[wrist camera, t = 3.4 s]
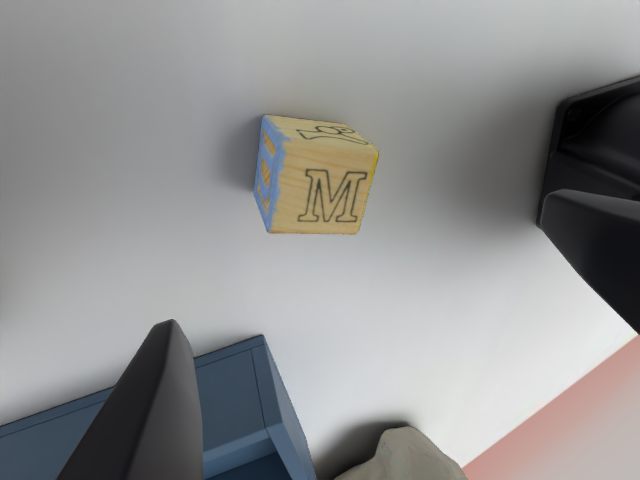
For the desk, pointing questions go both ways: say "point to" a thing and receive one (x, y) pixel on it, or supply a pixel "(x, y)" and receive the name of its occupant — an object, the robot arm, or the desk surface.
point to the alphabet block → (312, 176)
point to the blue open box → (217, 424)
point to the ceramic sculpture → (405, 459)
